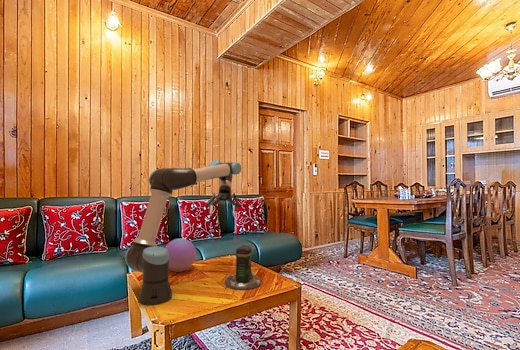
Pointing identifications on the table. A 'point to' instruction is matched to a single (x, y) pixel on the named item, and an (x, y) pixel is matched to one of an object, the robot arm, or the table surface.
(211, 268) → the table surface
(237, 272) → the coffee jar
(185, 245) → the ball
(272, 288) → the table surface
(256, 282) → the lug base plate
